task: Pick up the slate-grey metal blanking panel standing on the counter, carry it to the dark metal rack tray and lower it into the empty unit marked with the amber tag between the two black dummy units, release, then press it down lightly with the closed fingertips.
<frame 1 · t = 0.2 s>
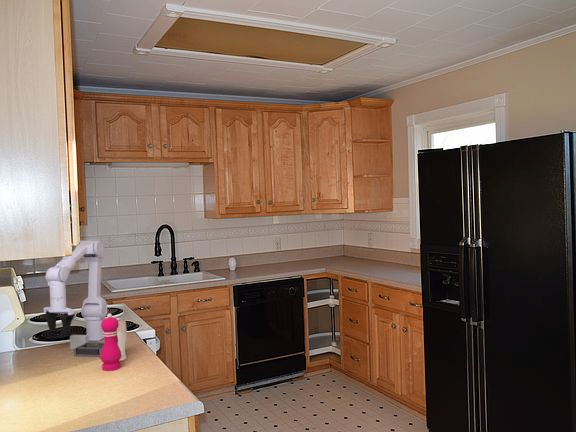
hand: (59, 331, 199), 10 cm above the worktop, fingers open, 7 cm apart
panel: (79, 348, 209), on the worktop
rack: (94, 353, 201), on the worktop
pepper mill: (111, 368, 182), on the worktop
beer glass: (118, 359, 193), on the worktop
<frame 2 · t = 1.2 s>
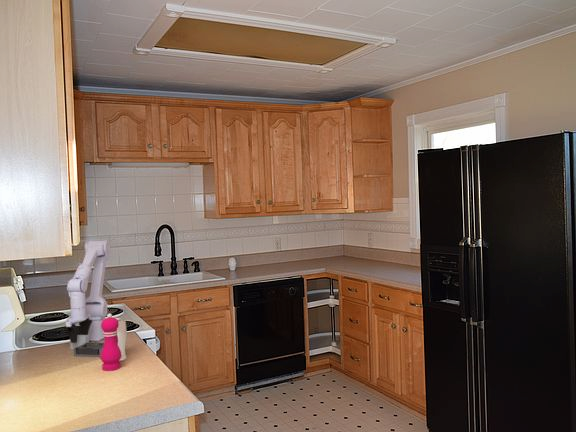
hand: (79, 340, 209), 4 cm above the worktop, fingers open, 7 cm apart
nothing on the worktop moved.
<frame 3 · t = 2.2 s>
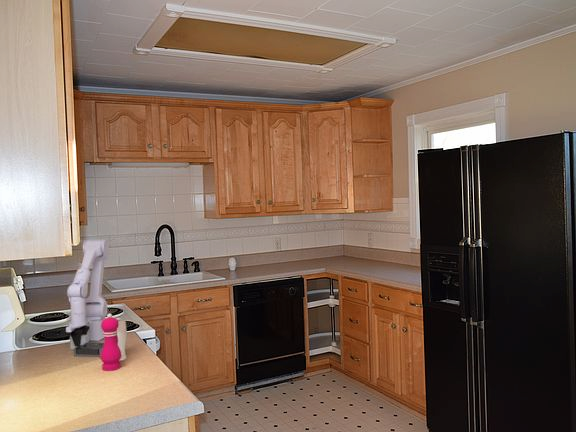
hand: (79, 345, 209), 1 cm above the worktop, fingers closed on panel, 2 cm apart
panel: (79, 348, 209), on the worktop, touching gripper
everything else where it was.
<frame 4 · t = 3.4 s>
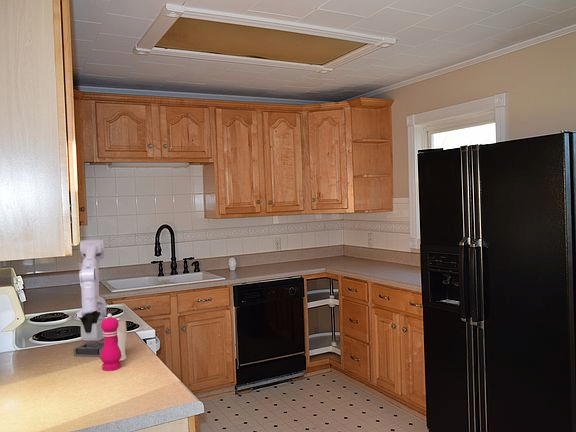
hand: (90, 331, 202), 9 cm above the worktop, fingers closed on panel, 2 cm apart
panel: (90, 337, 203), point 6 cm above the worktop, touching gripper
everything else where it was.
when the fingers open (4 cm above the worktop, at t = 4.7 s): panel stays where it is, resting on rack.
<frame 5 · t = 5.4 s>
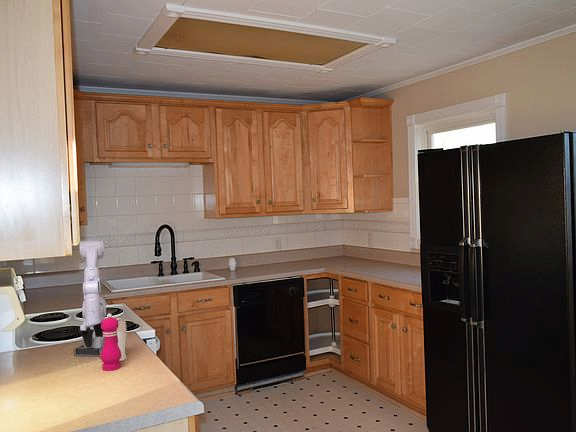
hand: (93, 343, 201), 4 cm above the worktop, fingers open, 7 cm apart
panel: (94, 351, 201), point 1 cm above the worktop, touching rack
everything else where it was.
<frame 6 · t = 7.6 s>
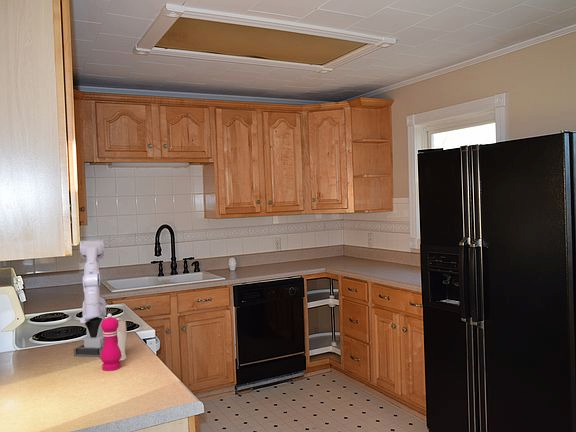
hand: (93, 336, 201), 7 cm above the worktop, fingers closed
nothing on the worktop moved.
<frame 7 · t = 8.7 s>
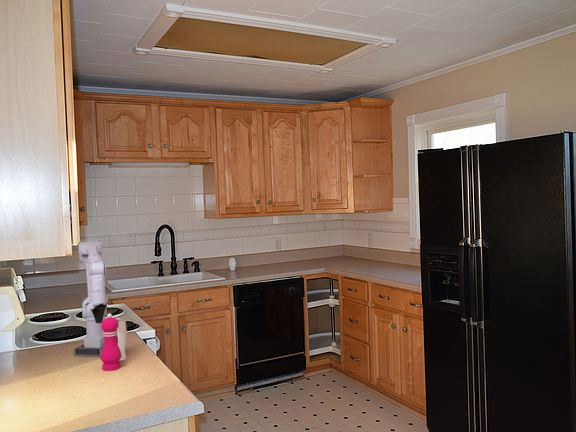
hand: (99, 322, 209), 10 cm above the worktop, fingers closed
nothing on the worktop moved.
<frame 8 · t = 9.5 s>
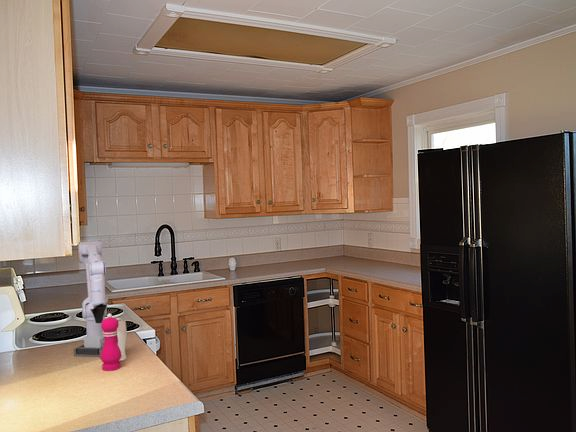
hand: (99, 322, 209), 10 cm above the worktop, fingers closed
nothing on the worktop moved.
at the end: panel 0.0 cm off-centre on the rack, point 0.8 cm above the rack's base; panel tilted 0°; the gripper is holding nothing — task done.
